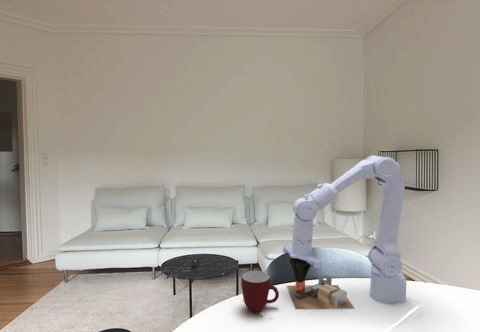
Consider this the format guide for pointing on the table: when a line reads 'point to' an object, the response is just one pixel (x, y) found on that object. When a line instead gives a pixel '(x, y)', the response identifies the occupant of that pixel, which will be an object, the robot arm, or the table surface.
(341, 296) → the brown grey rectangular block
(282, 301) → the table surface
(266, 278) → the mug
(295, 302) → the board
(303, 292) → the lever
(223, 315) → the table surface
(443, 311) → the table surface
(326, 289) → the tan cube
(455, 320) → the table surface
